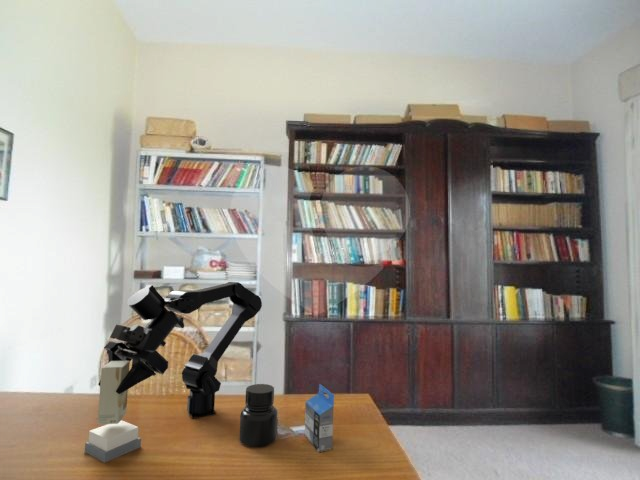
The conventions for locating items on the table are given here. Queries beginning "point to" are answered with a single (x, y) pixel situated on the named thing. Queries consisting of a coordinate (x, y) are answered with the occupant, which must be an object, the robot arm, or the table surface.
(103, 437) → the tower top
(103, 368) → the skincare box
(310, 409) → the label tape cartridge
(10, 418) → the table surface
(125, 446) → the tower bottom
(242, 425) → the ink bottle
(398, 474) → the table surface
